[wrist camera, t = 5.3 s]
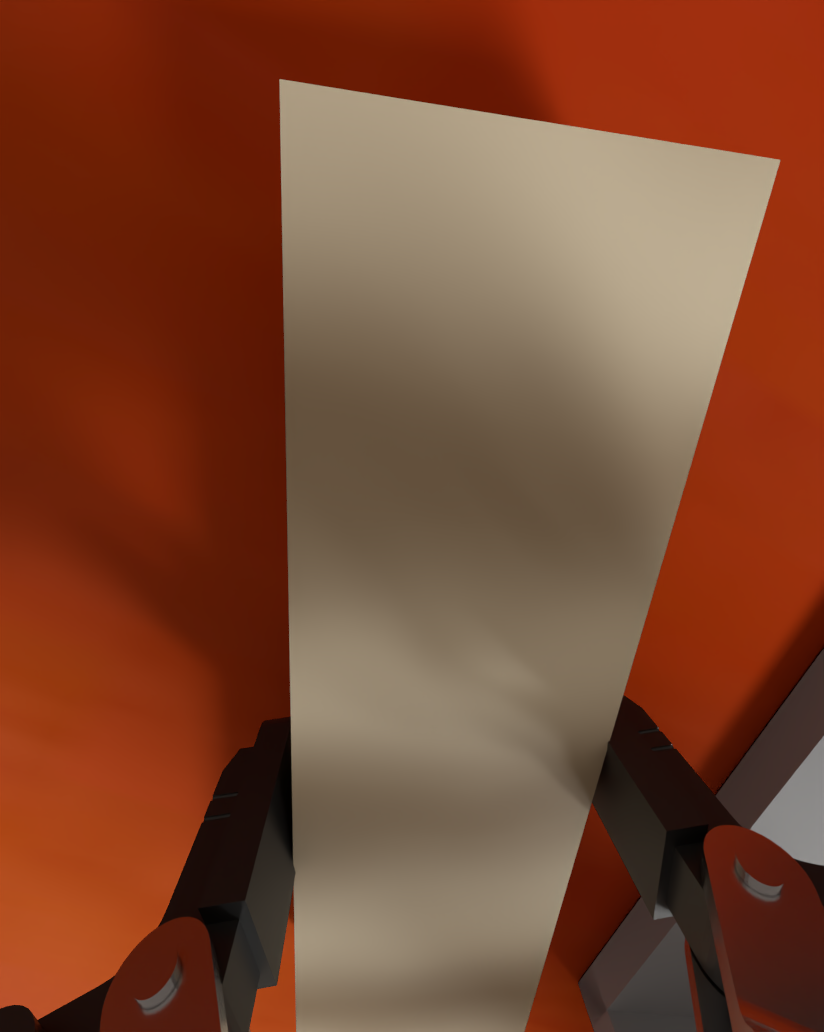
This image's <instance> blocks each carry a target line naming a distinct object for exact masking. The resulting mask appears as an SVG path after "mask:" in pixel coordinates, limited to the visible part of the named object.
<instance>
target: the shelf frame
mask: <svg viewBox="0 0 824 1032" xmlns="http://www.w3.org/2000/svg"><path fill="white" fill-rule="evenodd" d="M716 797H717V799H718V800H719V801H720V802H721V803H722V805H723V806H724V807H725V808H726V809H727V811H728V812H729V813H730V814H731V815H732V817H733V818H734V819H735V820H736V821H737V822H738V823H739V824H740V825H741V826H742V827H744V828H747V829H750V830H752V831H755V832H757V833H759V834H761V835H763V836H765V837H766V838H768V839H770V840H771V841H773V842H774V843H776V844H777V845H778V846H780V847H781V848H782V849H783V850H785V851H786V852H787V853H788V854H789V855H790V856H791V857H792V858H794V859H797V860H800V861H804V862H808V863H812V864H817V865H823V866H824V649H823V650H822V651H821V653H820V654H819V656H818V657H817V658H816V660H815V661H814V662H813V664H812V665H811V666H810V668H809V669H808V671H807V672H806V673H805V675H804V676H803V677H802V679H801V680H800V681H799V683H798V684H797V686H796V687H795V688H794V690H793V691H792V692H791V694H790V695H789V696H788V698H787V699H786V701H785V702H784V703H783V705H782V706H781V707H780V709H779V710H778V711H777V713H776V714H775V715H774V717H773V718H772V720H771V721H770V722H769V724H768V725H767V726H766V728H765V729H764V730H763V732H762V733H761V735H760V736H759V737H758V739H757V740H756V741H755V743H754V744H753V745H752V747H751V748H750V750H749V751H748V752H747V754H746V755H745V756H744V758H743V759H742V760H741V762H740V763H739V765H738V766H737V767H736V769H735V770H734V771H733V773H732V774H731V775H730V777H729V778H728V780H727V781H726V782H725V784H724V785H723V786H722V788H721V789H720V790H719V792H718V793H717V794H716ZM684 943H685V936H684V935H683V933H682V931H681V929H680V927H679V926H678V924H677V922H676V920H675V919H674V917H673V916H672V917H666V918H661V919H655V920H653V918H652V916H651V914H650V912H649V910H648V908H647V907H646V905H645V903H644V901H643V899H642V897H641V898H640V899H639V901H638V902H637V903H636V905H635V906H634V908H633V909H632V910H631V912H630V913H629V914H628V916H627V917H626V918H625V920H624V921H623V923H622V924H621V925H620V927H619V928H618V929H617V931H616V932H615V933H614V935H613V936H612V938H611V939H610V940H609V942H608V943H607V944H606V946H605V947H604V948H603V950H602V951H601V952H600V954H599V955H598V957H597V958H596V959H595V961H594V962H593V963H592V965H591V966H590V967H589V969H588V970H587V972H586V973H585V974H584V976H583V977H582V978H581V980H580V981H579V982H578V985H579V988H580V991H581V994H582V997H583V1000H584V1003H585V1006H586V1009H587V1012H588V1015H589V1018H590V1021H591V1024H592V1027H593V1030H594V1032H697V1030H696V1023H695V1017H694V1010H693V1004H692V997H691V991H690V984H689V978H688V971H687V965H686V958H685V949H684Z"/></svg>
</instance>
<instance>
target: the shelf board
mask: <svg viewBox="0 0 824 1032" xmlns="http://www.w3.org/2000/svg"><path fill="white" fill-rule="evenodd" d="M279 82H280V139H281V196H282V252H283V309H284V366H285V423H286V480H287V536H288V593H289V650H290V707H291V763H292V820H293V865H294V868H295V872H296V874H295V880H294V934H295V991H296V1032H524V1031H525V1028H526V1024H527V1021H528V1018H529V1014H530V1011H531V1007H532V1004H533V1001H534V997H535V994H536V990H537V987H538V984H539V980H540V977H541V973H542V970H543V966H544V963H545V960H546V956H547V953H548V949H549V946H550V943H551V939H552V936H553V932H554V929H555V926H556V922H557V919H558V915H559V912H560V909H561V905H562V902H563V898H564V895H565V892H566V888H567V885H568V881H569V878H570V875H571V871H572V868H573V864H574V861H575V858H576V854H577V851H578V847H579V844H580V841H581V837H582V834H583V830H584V827H585V824H586V820H587V817H588V813H589V810H590V806H591V803H592V800H593V796H594V793H595V789H596V786H597V783H598V779H599V776H600V772H601V769H602V766H603V762H604V759H605V755H606V752H607V745H608V741H610V738H611V735H612V732H613V728H614V725H615V721H616V718H617V715H618V711H619V708H620V704H621V701H622V698H623V694H624V691H625V687H626V684H627V681H628V677H629V674H630V670H631V667H632V663H633V660H634V657H635V653H636V650H637V646H638V643H639V640H640V636H641V633H642V629H643V626H644V623H645V619H646V616H647V612H648V609H649V606H650V602H651V599H652V595H653V592H654V589H655V585H656V582H657V578H658V575H659V572H660V568H661V565H662V561H663V558H664V555H665V551H666V548H667V544H668V541H669V538H670V534H671V531H672V527H673V524H674V521H675V517H676V514H677V510H678V507H679V503H680V500H681V497H682V493H683V490H684V486H685V483H686V480H687V476H688V473H689V469H690V466H691V463H692V459H693V456H694V452H695V449H696V446H697V442H698V439H699V435H700V432H701V429H702V425H703V422H704V418H705V415H706V412H707V408H708V405H709V401H710V398H711V395H712V391H713V388H714V384H715V381H716V378H717V374H718V371H719V367H720V364H721V361H722V357H723V354H724V350H725V347H726V343H727V340H728V337H729V333H730V330H731V326H732V323H733V320H734V316H735V313H736V309H737V306H738V303H739V299H740V296H741V292H742V289H743V286H744V282H745V279H746V275H747V272H748V269H749V265H750V262H751V258H752V255H753V252H754V248H755V245H756V241H757V238H758V235H759V231H760V228H761V224H762V221H763V218H764V214H765V211H766V207H767V204H768V200H769V197H770V194H771V190H772V187H773V183H774V180H775V177H776V173H777V170H778V166H779V163H780V160H778V159H771V158H765V157H759V156H753V155H747V154H740V153H734V152H728V151H722V150H716V149H710V148H703V147H697V146H691V145H685V144H679V143H672V142H666V141H660V140H654V139H648V138H641V137H635V136H629V135H623V134H617V133H610V132H604V131H598V130H592V129H586V128H579V127H573V126H567V125H561V124H555V123H549V122H542V121H536V120H530V119H524V118H518V117H511V116H505V115H499V114H493V113H487V112H480V111H474V110H468V109H462V108H456V107H449V106H443V105H437V104H431V103H425V102H418V101H412V100H406V99H400V98H394V97H388V96H381V95H375V94H369V93H363V92H357V91H350V90H344V89H338V88H332V87H326V86H319V85H313V84H307V83H301V82H295V81H288V80H282V79H279Z"/></svg>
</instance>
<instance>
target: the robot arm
mask: <svg viewBox="0 0 824 1032" xmlns="http://www.w3.org/2000/svg"><path fill="white" fill-rule="evenodd" d="M592 803H593V805H594V807H595V809H596V811H597V813H598V815H599V816H600V818H601V820H602V822H603V824H604V826H605V828H606V830H607V832H608V834H609V836H610V838H611V839H612V841H613V843H614V845H615V847H616V849H617V851H618V853H619V855H620V857H621V859H622V861H623V862H624V864H625V866H626V868H627V870H628V872H629V874H630V876H631V878H632V880H633V882H634V884H635V885H636V887H637V889H638V891H639V893H640V895H641V897H642V899H643V901H644V903H645V905H646V907H647V908H648V910H649V912H650V914H651V916H652V918H653V920H655V919H661V918H666V917H672V916H673V917H674V919H675V920H676V922H677V924H678V926H679V927H680V929H681V931H682V933H683V935H684V936H685V943H684V949H685V958H686V965H687V971H688V978H689V984H690V991H691V997H692V1004H693V1010H694V1017H695V1023H696V1030H697V1032H824V866H823V865H817V864H812V863H808V862H804V861H800V860H797V859H794V858H792V857H791V856H790V855H789V854H788V853H787V852H786V851H785V850H783V849H782V848H781V847H780V846H778V845H777V844H776V843H774V842H773V841H771V840H770V839H768V838H766V837H765V836H763V835H761V834H759V833H757V832H755V831H752V830H750V829H747V828H744V827H742V826H741V825H740V824H739V823H738V822H737V821H736V820H735V819H734V818H733V817H732V815H731V814H730V813H729V812H728V811H727V809H726V808H725V807H724V806H723V805H722V803H721V802H720V801H719V800H718V799H717V797H716V796H715V795H714V794H713V793H712V791H711V790H710V789H709V788H708V787H707V785H706V784H705V783H704V782H703V781H702V779H701V778H700V777H699V776H698V775H697V773H696V772H695V771H694V770H693V769H692V767H691V766H690V765H689V764H688V763H687V761H686V760H685V759H684V758H683V757H682V755H681V754H680V753H679V752H678V751H677V749H674V748H673V746H672V743H671V742H670V741H669V740H668V739H667V737H666V736H665V735H664V734H663V733H662V732H660V731H659V729H658V727H657V725H656V724H655V723H654V722H653V721H652V719H651V718H650V717H649V716H648V715H647V713H646V712H645V711H644V710H643V709H642V708H641V707H640V706H638V705H637V704H635V703H634V702H633V701H631V700H630V699H628V698H627V697H625V696H624V695H623V698H622V701H621V704H620V708H619V711H618V715H617V718H616V721H615V725H614V728H613V732H612V735H611V738H610V741H608V745H607V752H606V755H605V759H604V762H603V766H602V769H601V772H600V776H599V779H598V783H597V786H596V789H595V793H594V796H593V800H592ZM295 874H296V872H295V868H294V865H293V820H292V763H291V717H286V718H279V719H272V720H265V721H264V722H263V723H262V725H261V727H260V730H259V733H258V736H257V739H256V742H255V744H254V747H249V748H243V749H240V750H239V751H238V752H237V754H236V755H235V756H234V757H233V759H232V760H231V761H230V763H229V764H228V765H227V766H226V768H225V769H224V770H223V772H222V774H221V777H220V779H219V782H218V784H217V787H216V789H215V792H214V794H213V800H212V801H210V804H209V806H208V809H207V811H206V814H205V816H204V822H203V823H202V824H201V826H200V829H199V831H198V834H197V836H196V839H195V841H194V844H193V846H192V848H191V851H190V853H189V856H188V858H187V861H186V863H185V866H184V868H183V871H182V873H181V876H180V878H179V881H178V883H177V886H176V888H175V890H174V893H173V895H172V898H171V900H170V903H169V905H168V908H167V910H166V912H165V915H164V917H163V919H162V921H161V923H160V924H159V926H158V927H157V928H156V929H155V930H153V931H152V932H151V933H149V934H148V935H147V936H146V937H145V938H144V939H143V940H142V941H141V942H140V943H139V944H138V945H137V946H136V947H135V948H134V949H133V950H132V952H131V953H130V954H129V956H128V957H127V958H126V960H125V961H124V962H123V964H122V965H121V967H120V969H119V970H118V972H117V973H116V975H115V976H113V977H112V978H111V979H109V980H108V981H106V982H105V983H103V984H101V985H100V986H98V987H96V988H95V989H93V990H91V991H89V992H87V993H86V994H84V995H82V996H80V997H78V998H77V999H75V1000H73V1001H71V1002H69V1003H68V1004H66V1005H64V1006H62V1007H60V1008H59V1009H57V1010H55V1011H53V1012H51V1013H50V1014H48V1015H46V1016H44V1017H42V1018H41V1019H39V1020H37V1019H36V1018H35V1016H34V1015H33V1014H32V1013H31V1011H30V1010H29V1009H28V1008H26V1007H24V1006H20V1005H12V1006H7V1007H4V1008H1V1009H0V1032H250V1028H249V1027H250V1022H251V1017H252V1012H253V1007H254V1002H255V997H256V992H257V989H260V988H265V987H271V986H276V985H277V981H278V975H279V969H280V963H281V957H282V951H283V945H284V939H285V933H286V927H287V921H288V915H289V909H290V904H291V898H292V892H293V886H294V880H295Z"/></svg>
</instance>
